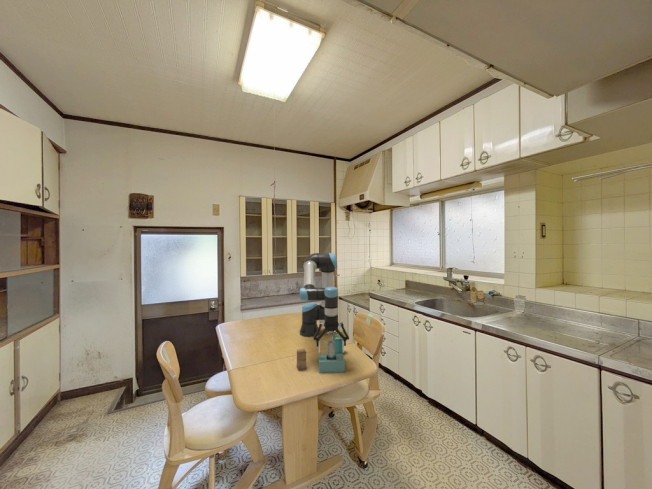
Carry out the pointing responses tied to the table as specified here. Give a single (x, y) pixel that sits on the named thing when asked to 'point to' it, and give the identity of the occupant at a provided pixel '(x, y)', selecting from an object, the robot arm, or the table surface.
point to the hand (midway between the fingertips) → (331, 351)
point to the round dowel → (331, 350)
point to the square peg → (301, 359)
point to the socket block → (331, 363)
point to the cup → (337, 341)
